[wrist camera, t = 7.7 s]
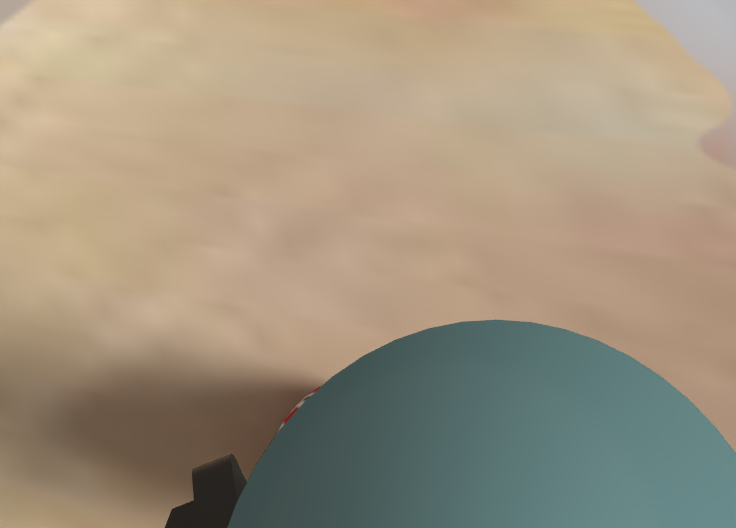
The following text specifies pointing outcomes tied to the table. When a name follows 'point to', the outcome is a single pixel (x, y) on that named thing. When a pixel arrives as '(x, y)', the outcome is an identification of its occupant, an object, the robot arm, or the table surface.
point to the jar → (494, 441)
